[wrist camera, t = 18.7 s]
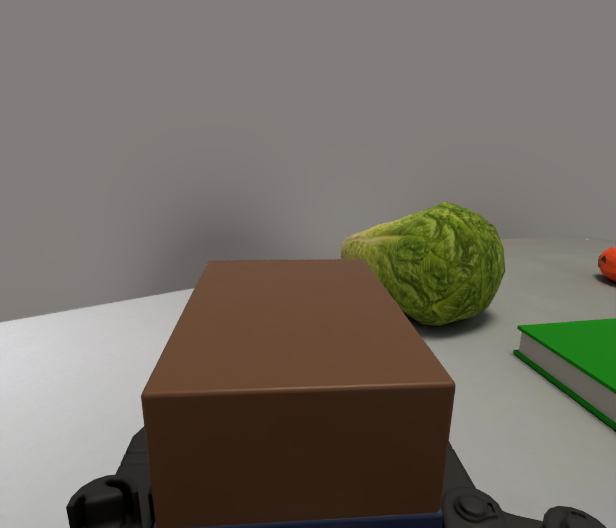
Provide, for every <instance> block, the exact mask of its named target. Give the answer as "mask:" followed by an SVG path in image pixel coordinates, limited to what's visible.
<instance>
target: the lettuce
mask: <svg viewBox="0 0 616 528" xmlns="http://www.w3.org/2000/svg"><path fill="white" fill-rule="evenodd" d="M341 259H363V260H365V261H366V263H367V264H368V265H369V267H370V268H371V269H372V271H373V272H374V273H375V275H376V276H377V277H378V279H379V280H380V282H381V283H382V284H383V286H384V287H385V288H386V290H387V291H388V292H389V294H390V295H391V297H392V298H393V299H394V301H395V302H396V303H397V305H398V306H399V307H400V309H401V310H402V311H403V312H405V313H406V314H407V315H409V316H410V317H412V318H413V319H415V320H416V321H417V322H419V323H420V324H422V325H438V326H441V325H444V324H447V323H450V322H454V321H457V320H462V319H468V318H473V317H475V316H476V315H478V314H479V313H481V312H482V311H483V310H485V309H486V308H488V307H489V305H490V303H491V301H492V300H493V298H494V296H495V294H496V293H497V291H498V288H499V285H500V283H501V280H502V278H503V275H504V273H505V262H504V250H503V246H502V243H501V241H500V238H499V236H498V233H497V230H496V228H495V227H494V226H493V225H492V224H490V223H489V222H488V221H487V220H485V219H484V218H483V217H482V216H480V215H478V214H476V213H474V212H472V211H471V210H469V209H467V208H464V207H461V206H458V205H455V204H452V203H448V202H444V203H441V204H438V205H435V206H433V207H430V208H428V209H426V210H423V211H421V212H418V213H414V214H411V215H409V216H406V217H403V218H401V219H399V220H396V221H394V222H387V223H381V224H379V225H377V226H374V227H372V228H370V229H367V230H365V231H363V232H359V233H356V234H353V235H351V236H349V237H348V238H347V239H346V240H345V241H344V242H343V243H342V244H341Z"/></svg>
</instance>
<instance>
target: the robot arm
mask: <svg viewBox="0 0 616 528" xmlns="http://www.w3.org/2000/svg"><path fill="white" fill-rule="evenodd" d="M440 507H441V510H442V512H443V522H442V528H606V527H605V526H604V525H603V524H602V523H601V522H600V521H598V520H597V519H596V518H594V517H592V516H590V515H589V514H587V513H585V512H583V511H580V510H578V509H575V508H572V507H564V506H557V507H554V508H550V509H549V510H548V511H547V512H546V513H545V515H544V518H543V521H539V520H534V519H530V518H525V517H521V516H516V515H513V514H509V513H506V512H504V511H502V510H501V508H500V506H499V504H498V503H497V502H496V501H495V500H493V499H492V498H491V497H490V496H489V495H487V494H486V493H484V492H482V491H480V490H478V489H476V488H475V486H474V484H473V482H472V481H471V479H470V477H469V475H468V474H467V472H466V470H465V469H464V467H463V465H462V463H461V462H460V460H459V458H458V456H457V455H456V453H455V451H454V449H452V446H451V444H450V442H449V441H448V449H447V457H446V464H445V472H444V480H443V488H442V496H441V503H440ZM66 509H67V514H68V520H69V525H70V528H153V526H154V523H155V513H154V505H153V496H152V487H151V479H150V470H149V461H148V453H147V444H146V435H145V427H143V428H142V429H141V430H140V431H139V432H138V433H136V434H135V435H134V436H133V437H132V440H131V442H130V444H129V446H128V448H127V451H126V454H125V455H124V457H123V459H122V461H121V465H120V466H119V468H118V470H117V472H116V474H115V475H107V476H104V477H101V478H98V479H95V480H93V481H91V482H89V483H88V484H86V485H84V486H83V487H81V488H80V489H79V490H78V491H77V492H76V493H75V494H74V495H73V496H72V497H71V499H70V501H69V503H68V505H67V507H66Z"/></svg>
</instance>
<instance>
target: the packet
mask: <svg viewBox="0 0 616 528" xmlns="http://www.w3.org/2000/svg"><path fill="white" fill-rule="evenodd" d="M454 394H455V383H454V381H453V380H452V378H451V377H450V375H449V374H448V373H447V371H446V370H445V369H444V367H443V366H442V365H441V363H440V362H439V360H438V359H437V358H436V356H435V355H434V354H433V352H432V351H431V350H430V348H429V347H428V346H427V344H426V343H425V341H424V340H423V339H422V337H421V336H420V335H419V333H418V332H417V331H416V329H415V328H414V326H413V325H412V324H411V322H410V321H409V320H408V318H407V317H406V316H405V314H404V313H403V312H402V310H401V309H400V307H399V306H398V305H397V303H396V302H395V301H394V299H393V298H392V297H391V295H390V294H389V292H388V291H387V290H386V288H385V287H384V286H383V284H382V283H381V282H380V280H379V279H378V277H377V276H376V275H375V273H374V272H373V271H372V269H371V268H370V267H369V265H368V264H367V263H366V261H365V260H363V259H338V260H244V261H243V260H239V261H208V263H207V265H206V267H205V269H204V271H203V273H202V275H201V277H200V279H199V281H198V283H197V285H196V287H195V289H194V291H193V293H192V295H191V297H190V299H189V301H188V303H187V305H186V307H185V309H184V311H183V313H182V315H181V317H180V318H179V320H178V322H177V324H176V326H175V328H174V330H173V332H172V334H171V336H170V338H169V340H168V342H167V344H166V346H165V348H164V350H163V352H162V354H161V356H160V358H159V360H158V362H157V364H156V366H155V368H154V370H153V372H152V374H151V376H150V378H149V380H148V382H147V384H146V386H145V388H144V390H143V392H142V395H141V401H142V409H143V418H144V427H145V435H146V444H147V453H148V461H149V470H150V479H151V487H152V496H153V505H154V513H155V523H154V526H153V528H442V522H443V512H442V510H441V507H440V503H441V496H442V488H443V480H444V472H445V464H446V457H447V449H448V441H449V433H450V425H451V418H452V410H453V402H454Z"/></svg>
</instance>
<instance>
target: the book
mask: <svg viewBox="0 0 616 528" xmlns="http://www.w3.org/2000/svg"><path fill="white" fill-rule="evenodd" d="M517 329H519V330H520V331H522V336H521V341H520V347H519V350H514V351H513V353H514V354H515V355H517V356H518V357H519V358H520V359H522V360H523V361H524V362H526V363H527V364H528V365H530V366H531V367H532V368H534V369H535V370H536V371H538V372H539V373H540V374H542V375H543V376H544V377H546V378H547V379H548V380H549V381H551V382H552V383H553V384H555V385H556V386H557V387H559V388H560V389H561V390H563V391H564V392H565V393H567V394H568V395H569V396H571V397H572V398H573V399H574V400H576V401H577V402H578V403H580V404H581V405H582V406H584V407H585V408H586V409H588V410H589V411H590V412H592V413H593V414H594V415H596V416H597V417H598V418H600V419H601V420H602V421H603V422H605V423H606V424H607V425H609V426H610V427H611V428H613V429H614V430H615V431H616V318H615V319H602V320H588V321H575V322H561V323H548V324H534V325H521V326H518V328H517Z"/></svg>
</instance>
